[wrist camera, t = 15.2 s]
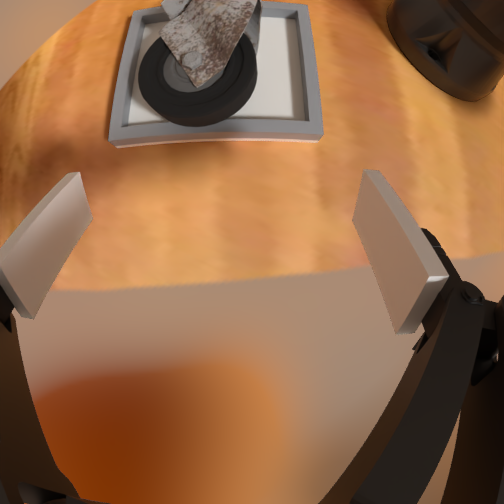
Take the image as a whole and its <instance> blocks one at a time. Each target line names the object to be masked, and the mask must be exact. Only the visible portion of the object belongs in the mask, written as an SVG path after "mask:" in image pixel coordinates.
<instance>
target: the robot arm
mask: <svg viewBox="0 0 504 504" xmlns="http://www.w3.org/2000/svg"><path fill="white" fill-rule="evenodd" d="M387 22H388V26H389V29H390V31H391V34H392V36H393V38H394V39H395V41H396V43H397V44H398V46H399V47H400V49H401V50H402V52H403V53H404V54H405V55H406V57H407V58H408V59H409V60H410V62H411V63H412V64H413V65H414V66H415V67H416V68H417V69H418V70H419V71H420V72H421V73H422V74H423V75H424V76H425V77H426V78H427V79H429V80H430V81H431V82H432V83H433V84H435V85H436V86H437V87H439V88H440V89H442V90H443V91H445V92H446V93H448V94H450V95H452V96H454V97H456V98H458V99H461V100H465V101H477V100H479V99H481V98H483V97H485V96H486V95H488V94H490V93H491V92H492V91H493V90H494V89H495V87H496V85H497V83H498V82H499V80H500V79H501V78H502V76H503V75H504V0H393V2H392V3H391V5H390V6H389V8H388V11H387ZM92 220H93V217H92V213H91V210H90V207H89V204H88V200H87V197H86V194H85V190H84V187H83V183H82V179H81V176H80V172H73V173H67V174H66V175H65V176H64V177H63V178H62V179H61V180H60V181H59V182H58V183H57V184H56V185H55V186H54V187H53V188H52V189H51V190H50V191H49V192H48V193H47V194H46V195H45V196H44V197H43V199H42V200H41V201H40V202H39V203H38V204H37V205H36V206H35V207H34V208H33V209H32V211H31V212H30V213H29V214H28V215H27V216H26V217H25V219H24V220H23V221H22V222H21V223H20V224H19V226H18V227H17V228H16V229H15V231H14V232H13V233H12V234H11V235H10V237H9V238H8V239H7V240H6V242H5V243H4V244H3V246H2V247H1V248H0V504H24V503H27V504H109V503H103V502H97V501H91V500H86V499H81V498H80V497H79V495H78V493H77V491H76V489H75V488H74V486H73V484H72V483H71V482H70V481H69V479H68V478H67V477H65V475H64V474H63V473H62V472H61V471H60V470H59V469H58V467H57V466H56V464H55V461H54V459H53V457H52V454H51V452H50V449H49V447H48V444H47V442H46V439H45V437H44V434H43V431H42V428H41V426H40V423H39V420H38V417H37V414H36V410H35V407H34V404H33V401H32V397H31V394H30V390H29V386H28V383H27V378H26V374H25V370H24V366H23V361H22V356H21V351H20V346H19V340H18V334H17V328H16V321H15V318H14V316H13V314H12V313H11V312H12V310H13V308H14V307H15V308H16V310H17V311H18V313H19V314H20V315H21V317H25V318H30V319H34V318H35V316H36V314H37V312H38V310H39V308H40V306H41V304H42V302H43V300H44V299H45V297H46V294H47V293H48V291H49V289H50V287H51V286H52V284H53V282H54V280H55V279H56V277H57V275H58V273H59V272H60V270H61V268H62V266H63V265H64V263H65V261H66V260H67V258H68V257H69V255H70V253H71V252H72V250H73V248H74V247H75V245H76V244H77V242H78V241H79V239H80V238H81V236H82V235H83V233H84V231H85V230H86V228H87V227H88V226H89V224H90V223H91V221H92ZM352 221H353V223H354V225H355V228H356V230H357V232H358V235H359V237H360V239H361V242H362V244H363V246H364V249H365V251H366V254H367V256H368V259H369V261H370V264H371V266H372V269H373V272H374V274H375V277H376V279H377V282H378V285H379V287H380V290H381V293H382V296H383V299H384V301H385V304H386V307H387V310H388V313H389V316H390V319H391V321H392V325H393V328H394V331H395V334H396V335H399V334H409V333H415V331H416V330H417V328H418V326H419V325H420V323H421V322H422V324H423V327H424V330H425V332H424V333H423V335H422V336H421V338H420V339H419V340H418V342H417V343H416V344H415V346H414V347H413V348H412V349H413V350H415V352H414V354H413V356H412V358H411V360H410V362H409V365H408V367H407V368H406V371H405V373H404V375H403V377H402V379H401V381H400V383H399V384H398V386H397V388H396V390H395V392H394V394H393V396H392V398H391V400H390V401H389V403H388V405H387V407H386V408H385V410H384V412H383V414H382V415H381V417H380V419H379V420H378V422H377V424H376V425H375V427H374V428H373V430H372V432H371V433H370V435H369V436H368V438H367V440H366V441H365V443H364V444H363V446H362V447H361V448H360V450H359V452H358V453H357V455H356V456H355V457H354V459H353V460H352V462H351V463H350V464H349V466H348V467H347V468H346V470H345V471H344V473H343V474H342V475H341V477H340V478H339V479H338V481H337V482H336V483H335V484H334V486H333V487H332V488H331V489H330V491H329V492H328V493H327V494H326V495H325V497H324V498H323V499H322V500H321V501H320V502H319V503H318V504H417V503H418V501H419V499H420V498H421V496H422V494H423V492H424V491H425V489H426V487H427V485H428V483H429V481H430V479H431V477H432V475H433V474H434V472H435V470H436V467H437V465H438V463H439V461H440V459H441V457H442V455H443V452H444V450H445V448H446V446H447V443H448V441H449V439H450V436H451V434H452V431H453V428H454V426H455V424H456V421H457V418H458V415H459V413H460V420H459V427H458V433H457V439H456V444H455V449H454V454H453V459H452V464H451V468H450V472H449V476H448V480H447V483H446V487H445V490H444V495H443V497H442V500H441V504H504V295H503V297H502V298H501V300H500V301H499V303H496V302H492V301H488V300H485V298H484V296H483V294H482V292H481V291H480V290H479V289H478V288H477V287H476V286H475V285H473V284H471V283H469V282H467V281H462V280H461V278H460V276H459V274H458V273H457V271H456V269H455V268H454V266H453V264H452V263H451V261H450V259H449V258H448V256H446V253H445V251H444V250H443V248H441V245H440V243H439V242H438V240H437V239H436V237H435V236H434V235H432V234H431V233H430V232H429V231H428V230H427V229H424V228H420V227H419V225H418V224H417V222H416V221H415V219H414V218H413V217H412V215H411V214H410V212H409V211H408V209H407V208H406V206H405V205H404V204H403V202H402V201H401V199H400V198H399V197H398V195H397V194H396V192H395V191H394V190H393V188H392V187H391V186H390V184H389V183H388V182H387V180H386V179H385V178H384V177H383V175H382V174H381V173H380V171H378V170H368V169H363V174H362V179H361V184H360V189H359V193H358V198H357V202H356V207H355V211H354V215H353V220H352ZM497 354H498V361H497V356H496V355H497ZM460 410H461V412H460Z"/></svg>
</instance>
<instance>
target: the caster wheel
mask: <svg viewBox="0 0 504 504" xmlns="http://www.w3.org/2000/svg"><path fill="white" fill-rule="evenodd" d="M161 5H162V7H163V8H164V10H165V12H166V14H167V15H168V17H169V19H170V21H169V22H168V23H167V24H165V25H164V26H163V28H162V29H161V30H160V31H159V32H158V33H159V35H160V37H159V38H158V39H157V40H156V41H155V42H154V43H153V44H152V45H151V46H150V47H149V49H148V50H147V52H146V53H145V55H144V57H143V59H142V61H141V64H140V67H139V72H138V84H139V89H140V92H141V94H142V97H143V98H144V100H145V101H146V102H147V103H148V104H149V106H150V107H152V108H153V109H154V110H155V111H156V112H157V113H158V114H160V115H161V116H163V117H164V118H165V119H167V120H168V121H170V122H172V123H174V124H177V125H181V126H185V127H204V126H209V125H213V124H216V123H219V122H221V121H223V120H226V119H228V118H229V117H231V116H232V115H234V114H235V113H236V112H238V111H239V110H240V109H241V108H242V107H243V106H244V105H245V104H246V103H247V101H248V100H249V99H250V97H251V95H252V93H253V91H254V89H255V86H256V82H257V75H258V72H257V60H256V56H257V53H258V48H259V40H260V22H261V14H262V1H261V0H164V1H163V2H162V3H161Z"/></svg>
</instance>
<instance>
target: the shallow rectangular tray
mask: <svg viewBox="0 0 504 504" xmlns="http://www.w3.org/2000/svg"><path fill="white" fill-rule="evenodd" d="M169 21H170V19H169V17H168V15H167V14H166V12H165V10H164V8H163V7H162V6H161V7H154V8H148V9H143V10H137V11H134V12H133V16H132V19H131V23H130V26H129V30H128V34H127V38H126V42H125V46H124V50H123V54H122V59H121V63H120V68H119V73H118V78H117V83H116V89H115V94H114V100H113V107H112V113H111V121H110V128H109V137H108V141H109V142H110V143H111V144H112V145H114V146H115V147H116V148H125V147H134V146H144V145H155V144H168V143H184V142H205V141H287V142H309V143H317V142H318V141H319V140H320V139H321V137H322V136H323V135H324V132H323V120H322V109H321V99H320V89H319V81H318V72H317V64H316V57H315V49H314V42H313V36H312V29H311V23H310V17H309V11H308V6H307V5H303V4H294V3H283V2H268V1H262V14H261V22H260V40H259V48H258V53H257V56H256V60H257V72H258V75H257V82H256V86H255V89H254V91H253V93H252V95H251V97H250V99H249V100H248V101H247V103H246V104H245V105H244V106H243V107H242V108H241V109H240V110H239V111H238V112H236V113H235V114H234V115H232V116H231V117H229V118H228V119H226V120H223V121H221V122H219V123H216V124H213V125H209V126H204V127H185V126H181V125H177V124H174V123H172V122H170V121H168V120H167V119H165V118H164V117H163V116H161V115H160V114H158V113H157V112H156V111H155V110H154V109H153V108H152V107H150V106H149V104H148V103H147V102H146V101H145V100H144V98H143V97H142V94H141V92H140V89H139V84H138V72H139V67H140V64H141V61H142V59H143V57H144V55H145V53H146V52H147V50H148V49H149V47H150V46H151V45H152V44H153V43H154V42H155V41H156V40H157V39H158V38H159V37H160V35H159V33H158V32H159V31H160V30H161V29H162V28H163V26H164V25H165V24H167V23H168V22H169Z"/></svg>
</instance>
